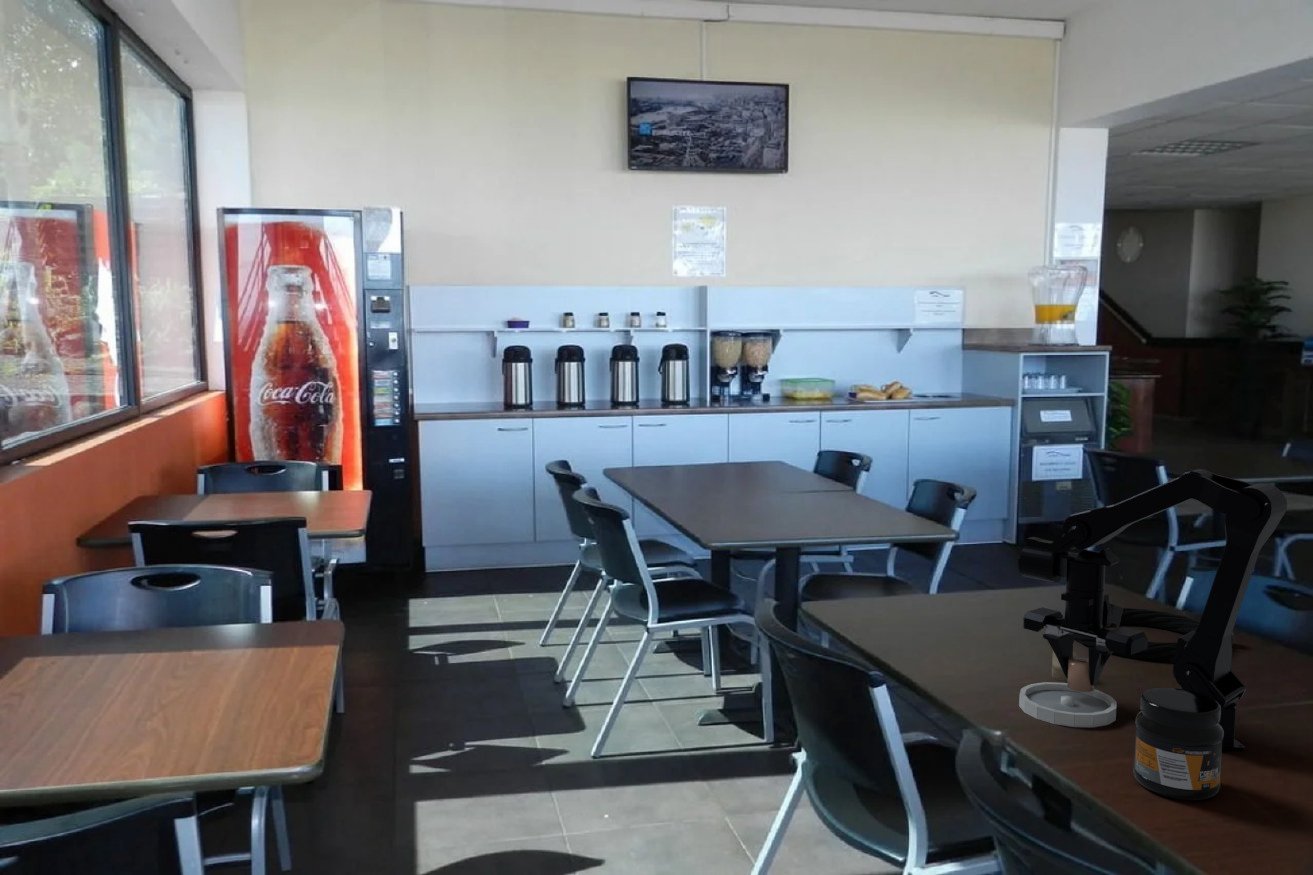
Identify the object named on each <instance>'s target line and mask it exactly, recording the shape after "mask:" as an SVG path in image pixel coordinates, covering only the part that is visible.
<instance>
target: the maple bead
mask: <svg viewBox="0 0 1313 875" xmlns="http://www.w3.org/2000/svg"><path fill="white" fill-rule="evenodd" d="M1073 657H1078V652H1076V651H1075V650H1073ZM1051 658H1052V661H1051V665H1052V666H1051V677H1052V678H1054V679H1055V680H1059V681H1066V682H1068V678H1066V677H1065V675H1064V672H1063V670H1062V668H1061V666H1060V663H1059V661H1058V659H1057V657H1056V655H1055V653H1054V651H1053V650H1052V657H1051Z"/></svg>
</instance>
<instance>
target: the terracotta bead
mask: <svg viewBox="0 0 1313 875" xmlns="http://www.w3.org/2000/svg"><path fill="white" fill-rule="evenodd" d="M1066 682H1067V687H1068V688H1070V689H1072V690H1075V691H1079V692H1091V691H1093V690H1094V689H1095V685H1094V686H1092V685H1091V684H1090V678H1089V657H1082V656H1077V657H1071V658H1069V659H1068V681H1066Z"/></svg>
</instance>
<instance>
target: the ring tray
mask: <svg viewBox="0 0 1313 875" xmlns="http://www.w3.org/2000/svg"><path fill="white" fill-rule="evenodd" d="M1018 700H1019V702H1018V706H1019V708H1020V709H1021V710H1022V711H1023V713H1025V714H1027V715H1029V716H1031V717H1032V718H1034V719H1036V720H1039V721H1043V722H1046V723H1050V724H1053V725H1059V726H1063V727H1064V726H1065V727H1069V728H1070V727H1072V728H1097V727H1103V726H1108V725H1109V726H1110V725H1111V724H1113V722H1115V721H1116V720H1117V718H1116V717H1117V706H1118V705H1117V703H1118V701H1116V700H1115V699H1114V698H1113V697H1112V696H1111V695H1109V694H1108V693H1106V692H1103V691H1101V690H1098V689H1096V688H1094V690H1093V691H1091V692H1079V691H1075V690H1072V689H1070V688H1068V687H1067V683H1066V682H1051V681H1050V682H1049V681H1048V682H1044V681H1043V682H1037V683H1031V684H1028V685H1025V686H1024V687H1021V689H1020V691H1019V699H1018Z"/></svg>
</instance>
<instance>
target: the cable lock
mask: <svg viewBox="0 0 1313 875" xmlns="http://www.w3.org/2000/svg"><path fill="white" fill-rule="evenodd" d="M1122 608H1123V612H1122V616H1121V621H1120V625H1134V626H1140V627H1151V628H1152V627H1153V628H1158V629H1161V630H1165V631H1171V632H1176V633H1179V634H1181V635H1183V636H1184V635H1186V634H1188V633H1190V632H1192V631H1196V630H1197V629H1198V626H1199V623H1200V621H1198V620H1196V619H1192V618H1190V617H1188V616H1185V615H1178V614H1174V613H1172V612H1167V611H1160V610H1159V611H1158V610H1152V609H1145V608H1128V607H1127V608H1126V607H1122ZM1089 632H1091V631H1089ZM1093 633H1094V632H1093ZM1075 640H1076V642H1078V643H1080V644H1082V645H1085V646H1087V647H1088V648H1089V647H1092V646H1095V645H1096V639H1094V638H1090V637H1086V636H1082V635H1078V634H1077V635H1076V638H1075ZM1234 643H1235V633H1234V631H1233V630H1232V633H1231V644H1232V646H1233V645H1234ZM1176 646H1177V642H1160V641H1159V642H1155V641H1148V647H1147V649H1146V650H1143V651H1140V652H1138V653H1135V654H1132V655H1124V654H1120V653H1116V652H1113V653H1112V654H1111V655H1116V656H1119V657H1122V658H1132V659H1137V660H1144V661H1149V662H1150V661H1152V662H1161V661H1162V662H1170V660H1171V659H1172V658H1173V657H1174V655H1175V653H1176Z"/></svg>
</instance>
